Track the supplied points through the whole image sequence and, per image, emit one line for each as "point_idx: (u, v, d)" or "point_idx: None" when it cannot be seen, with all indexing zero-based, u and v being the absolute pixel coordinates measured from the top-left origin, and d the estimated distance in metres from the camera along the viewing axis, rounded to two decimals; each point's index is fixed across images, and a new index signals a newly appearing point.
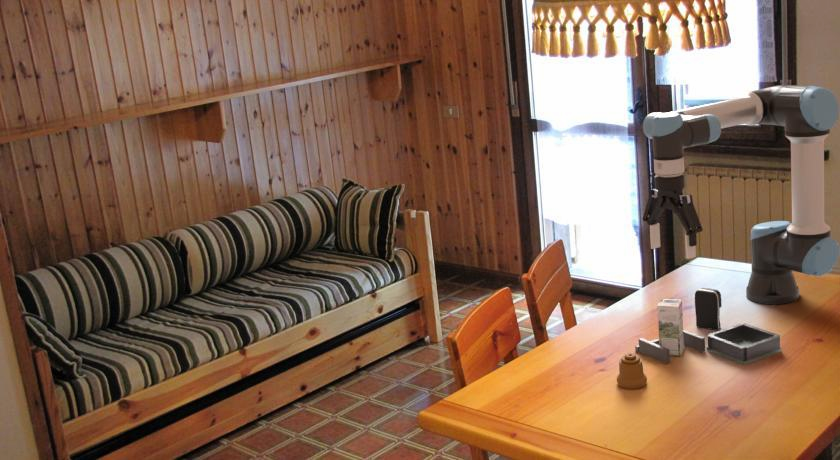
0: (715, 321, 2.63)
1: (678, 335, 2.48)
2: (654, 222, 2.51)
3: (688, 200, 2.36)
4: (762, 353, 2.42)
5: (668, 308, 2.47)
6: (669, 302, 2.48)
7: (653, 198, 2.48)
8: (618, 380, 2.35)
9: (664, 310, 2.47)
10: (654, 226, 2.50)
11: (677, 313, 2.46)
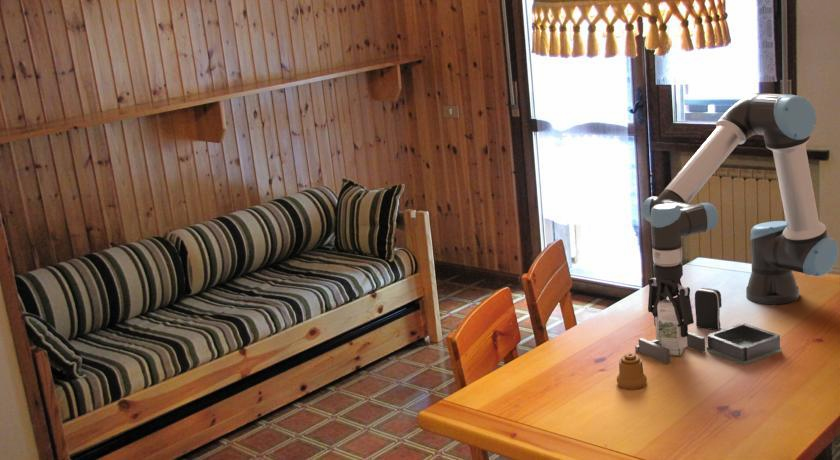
0: (715, 321, 2.63)
1: None
2: None
3: (685, 293, 2.42)
4: (762, 353, 2.42)
5: (668, 308, 2.47)
6: (669, 302, 2.48)
7: (653, 287, 2.53)
8: (618, 380, 2.35)
9: (664, 310, 2.47)
10: None
11: None
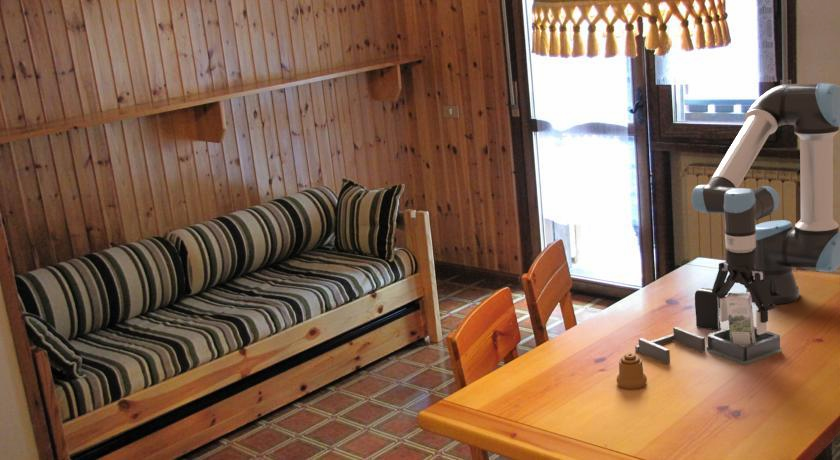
0: (715, 321, 2.63)
1: (749, 328, 2.43)
2: (724, 295, 2.50)
3: (761, 277, 2.36)
4: (762, 353, 2.42)
5: (737, 301, 2.42)
6: (738, 295, 2.44)
7: (723, 271, 2.47)
8: (618, 380, 2.35)
9: (734, 303, 2.43)
10: (724, 299, 2.50)
11: (747, 305, 2.41)
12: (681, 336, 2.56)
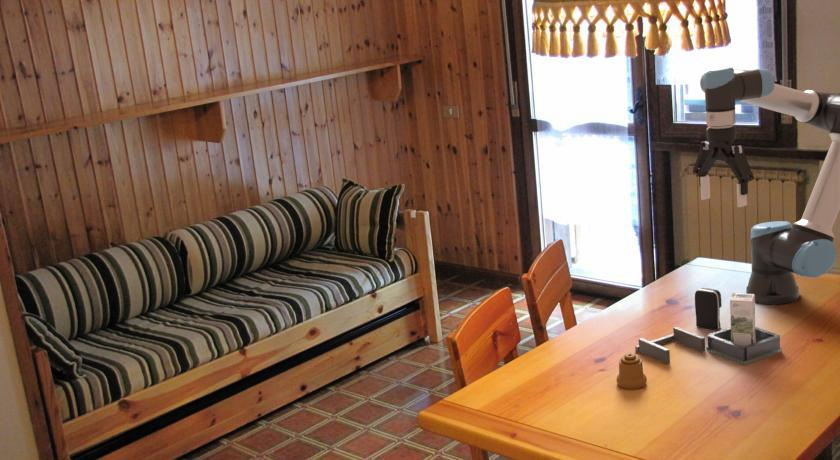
0: (715, 321, 2.63)
1: (751, 330, 2.43)
2: (704, 174, 2.60)
3: (740, 150, 2.46)
4: (762, 353, 2.42)
5: (741, 303, 2.42)
6: (741, 297, 2.43)
7: (704, 150, 2.57)
8: (618, 380, 2.35)
9: (737, 304, 2.42)
10: (704, 178, 2.60)
11: (751, 308, 2.41)
12: (681, 336, 2.56)
